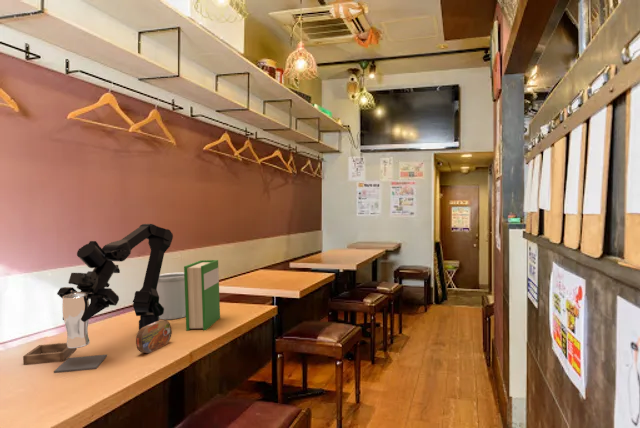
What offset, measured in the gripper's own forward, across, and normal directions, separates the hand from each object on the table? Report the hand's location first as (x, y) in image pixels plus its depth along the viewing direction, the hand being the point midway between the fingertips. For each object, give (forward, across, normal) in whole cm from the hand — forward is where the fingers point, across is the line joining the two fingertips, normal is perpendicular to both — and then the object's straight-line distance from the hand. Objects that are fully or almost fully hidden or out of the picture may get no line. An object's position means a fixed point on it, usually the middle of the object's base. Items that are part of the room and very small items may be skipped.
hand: (73, 320), depth 127 cm
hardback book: (-23, +15, +43) cm, 51 cm away
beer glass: (+5, 0, +7) cm, 8 cm away
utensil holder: (-30, -6, +50) cm, 59 cm away
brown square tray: (+6, -14, +13) cm, 20 cm away
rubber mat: (+9, +1, +10) cm, 13 cm away
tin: (-3, +14, +22) cm, 26 cm away
